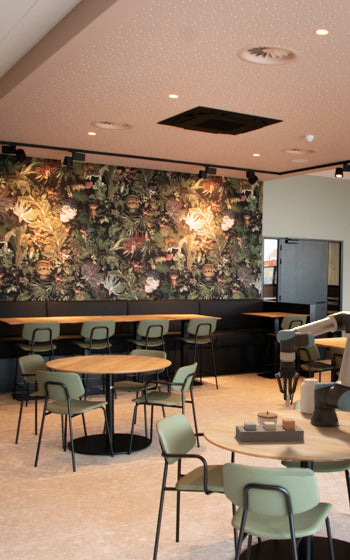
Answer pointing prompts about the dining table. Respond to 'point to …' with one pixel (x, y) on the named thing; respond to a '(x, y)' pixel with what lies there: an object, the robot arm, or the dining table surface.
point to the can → (307, 395)
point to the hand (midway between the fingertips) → (287, 406)
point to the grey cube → (249, 426)
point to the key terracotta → (288, 424)
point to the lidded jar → (267, 417)
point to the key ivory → (269, 425)
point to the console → (269, 434)
